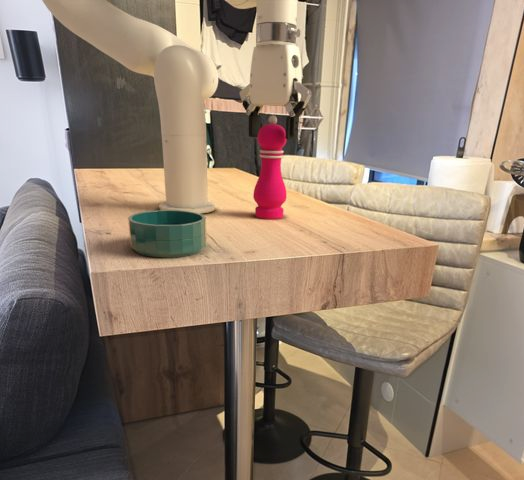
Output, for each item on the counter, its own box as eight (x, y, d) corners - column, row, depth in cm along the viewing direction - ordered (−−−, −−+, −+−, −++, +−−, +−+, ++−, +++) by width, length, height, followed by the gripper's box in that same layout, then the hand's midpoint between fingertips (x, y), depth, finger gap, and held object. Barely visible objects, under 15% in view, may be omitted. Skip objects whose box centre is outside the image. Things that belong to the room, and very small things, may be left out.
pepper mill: (266, 211, 105) (270, 115, 96) (291, 216, 101) (297, 116, 92) (246, 216, 100) (247, 114, 91) (271, 221, 96) (276, 115, 87)
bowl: (127, 241, 78) (124, 211, 76) (197, 237, 82) (196, 208, 80) (136, 261, 68) (132, 227, 66) (214, 255, 72) (214, 223, 70)
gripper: (325, 37, 83) (317, 140, 91) (253, 43, 93) (252, 135, 101) (302, 31, 78) (295, 140, 86) (228, 38, 88) (229, 136, 96)
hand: (272, 137), depth 94 cm, fingers open, 9 cm apart
